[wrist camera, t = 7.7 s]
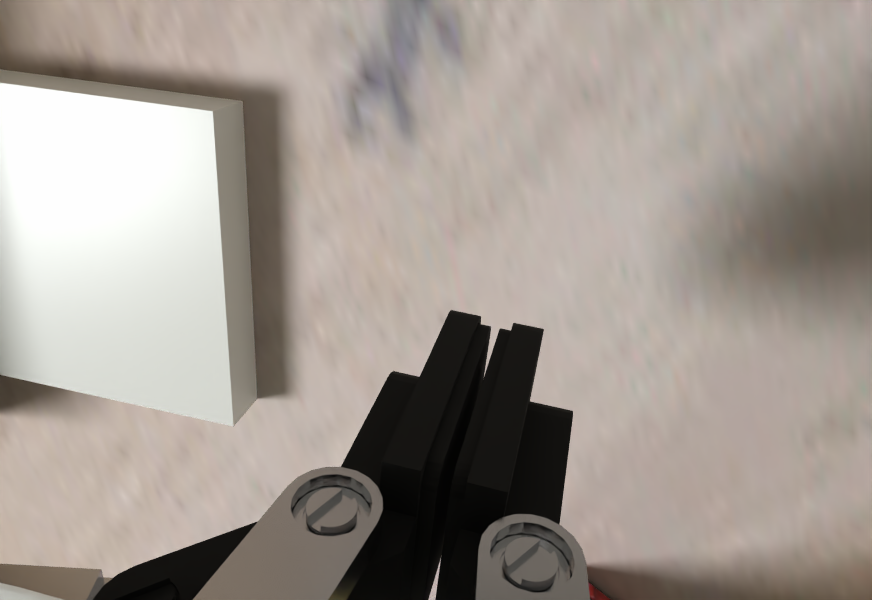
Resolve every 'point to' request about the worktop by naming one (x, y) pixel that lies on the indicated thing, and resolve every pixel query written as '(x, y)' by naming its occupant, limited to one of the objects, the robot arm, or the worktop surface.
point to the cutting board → (126, 245)
